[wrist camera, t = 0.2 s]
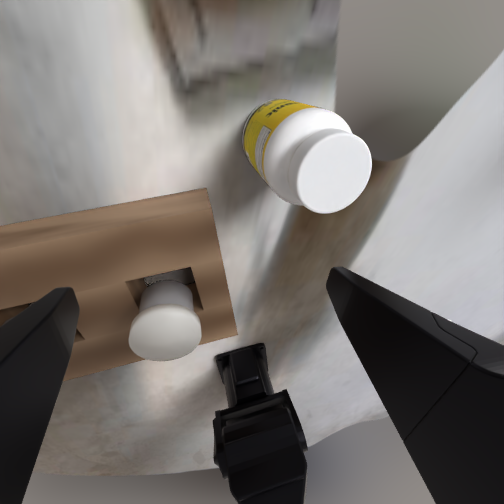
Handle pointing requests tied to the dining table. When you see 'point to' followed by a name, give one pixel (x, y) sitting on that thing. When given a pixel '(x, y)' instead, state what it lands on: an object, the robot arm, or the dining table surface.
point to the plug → (165, 323)
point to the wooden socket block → (116, 270)
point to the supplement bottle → (306, 155)
